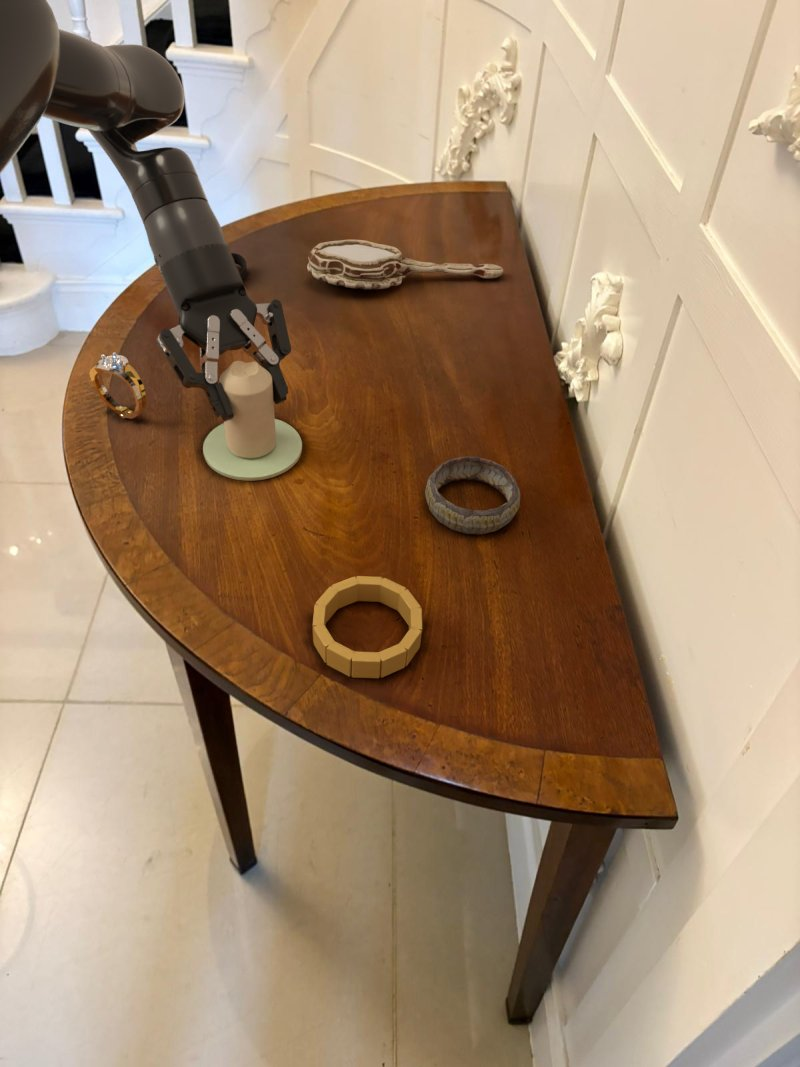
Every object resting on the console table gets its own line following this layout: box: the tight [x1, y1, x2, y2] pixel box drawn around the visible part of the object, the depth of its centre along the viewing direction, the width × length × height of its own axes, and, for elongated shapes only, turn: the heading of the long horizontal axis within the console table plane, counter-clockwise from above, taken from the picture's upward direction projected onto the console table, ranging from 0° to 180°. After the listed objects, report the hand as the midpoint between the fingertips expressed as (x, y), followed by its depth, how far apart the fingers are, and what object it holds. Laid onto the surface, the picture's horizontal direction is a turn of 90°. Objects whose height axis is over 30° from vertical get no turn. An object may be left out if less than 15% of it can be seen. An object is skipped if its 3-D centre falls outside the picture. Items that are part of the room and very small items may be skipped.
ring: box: [88, 351, 147, 420], centre depth 89 cm, size 7×3×8 cm, turn 57°
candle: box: [218, 360, 276, 458], centre depth 85 cm, size 6×6×10 cm
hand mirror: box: [306, 239, 504, 290], centre depth 117 cm, size 11×6×30 cm
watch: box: [231, 252, 247, 282], centre depth 115 cm, size 8×5×4 cm, turn 164°
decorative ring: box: [424, 456, 521, 535], centre depth 83 cm, size 10×3×10 cm
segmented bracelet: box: [312, 575, 423, 679], centre depth 70 cm, size 10×10×2 cm
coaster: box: [202, 418, 303, 482], centre depth 89 cm, size 11×11×1 cm
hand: (255, 409), depth 83 cm, fingers closed on candle, 5 cm apart
